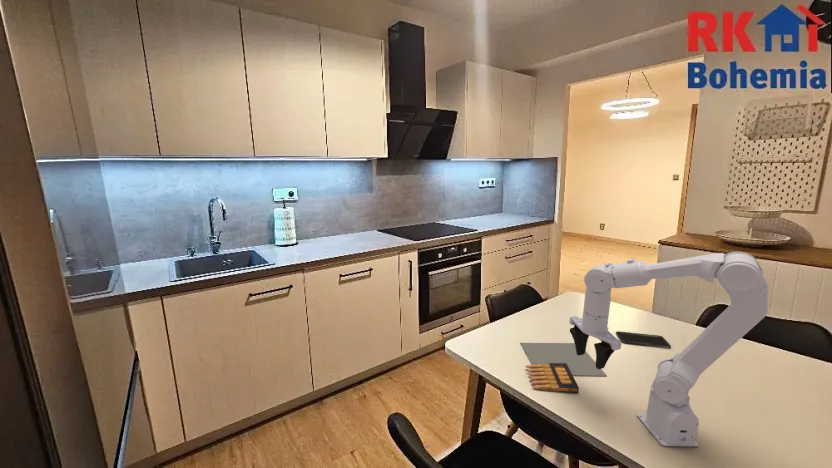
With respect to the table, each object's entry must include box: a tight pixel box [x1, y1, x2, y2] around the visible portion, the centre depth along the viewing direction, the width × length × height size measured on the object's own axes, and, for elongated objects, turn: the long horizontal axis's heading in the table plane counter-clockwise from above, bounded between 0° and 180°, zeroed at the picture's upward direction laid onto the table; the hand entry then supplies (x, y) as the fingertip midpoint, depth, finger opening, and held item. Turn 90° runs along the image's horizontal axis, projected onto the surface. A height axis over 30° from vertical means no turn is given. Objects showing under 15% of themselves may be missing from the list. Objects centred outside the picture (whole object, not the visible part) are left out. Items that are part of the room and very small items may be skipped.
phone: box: [615, 330, 672, 350], centre depth 119 cm, size 8×1×15 cm
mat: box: [520, 342, 608, 377], centre depth 109 cm, size 18×20×1 cm
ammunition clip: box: [525, 363, 580, 394], centre depth 98 cm, size 11×2×12 cm
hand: (590, 360), depth 89 cm, fingers open, 6 cm apart
